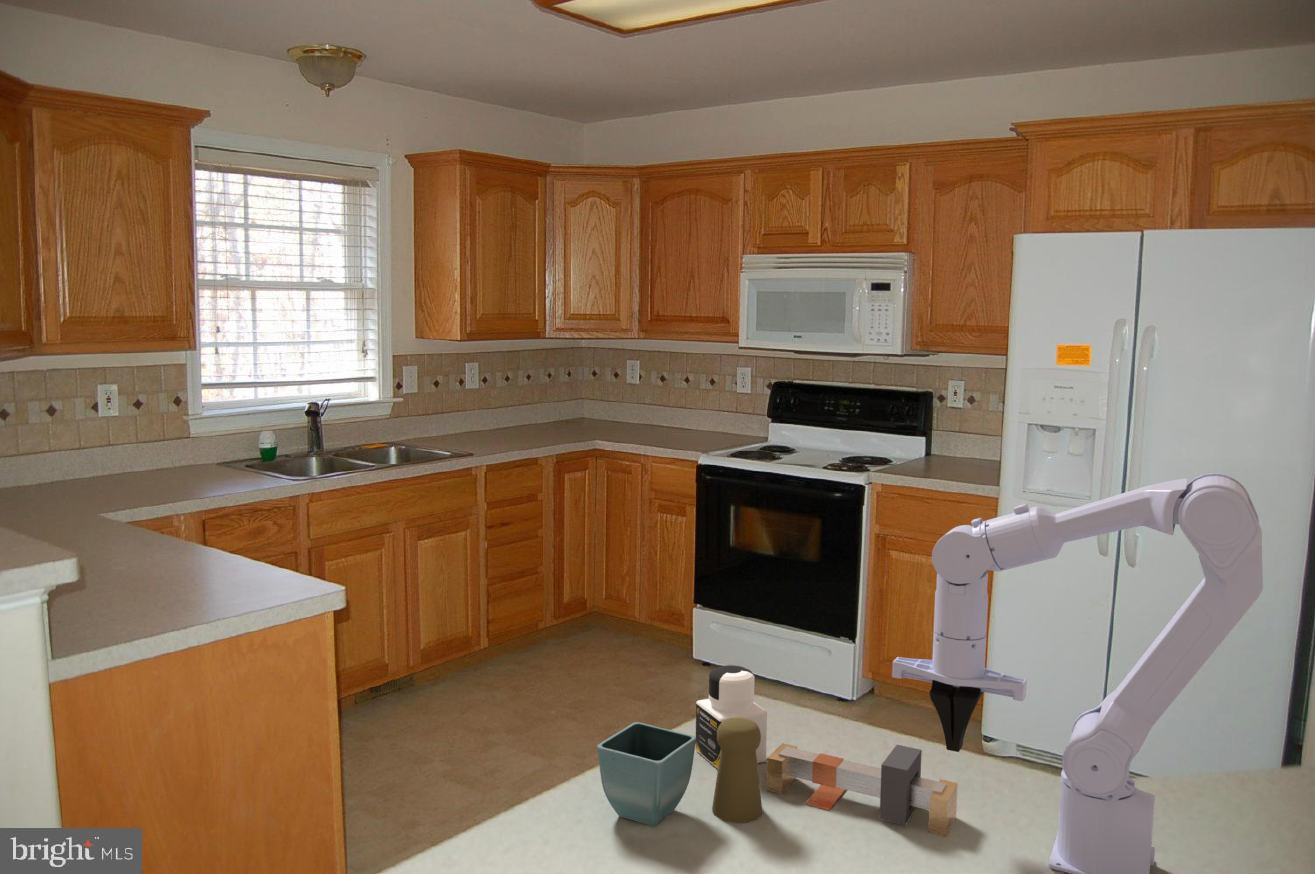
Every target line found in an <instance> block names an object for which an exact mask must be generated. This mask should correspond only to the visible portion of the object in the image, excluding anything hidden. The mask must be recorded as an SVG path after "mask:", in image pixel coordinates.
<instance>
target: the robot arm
mask: <svg viewBox="0 0 1315 874" xmlns="http://www.w3.org/2000/svg"><path fill="white" fill-rule="evenodd" d="M970 523H971V525H970V524H962V525H958V526H955V527H954V528H951V529H950V530H949V531H948V532H946V533H945V534H944V535H943V536H941V537H940V538H939V539H938V540H937V542H936V543H935V545H934V546H933V548H932V553H931V560H932V561H931V562H932V565H933V568H934V570H935V571H936V587H935V588H936V590H935V593H934V612H933V614H934V616H933V636H932V638H933V639H932V640H933V641H932V659H925V658H922V659H921V658H909V657H902V656H900V657H899V656H897V657H896V658H895V659H894V660H892V667H891V668H892V672H891V677H892V678H895V679H898V680H899V679H903V678H904V679H905V678H906V679H910V680H915V681H916V680H917V681H922V682H927V683H931V689H930V690H929V698H930V701H931V702H932V704H933V706H934V707H935V710H936V712H937V714H938V718H939V720H940V723H941V726H942V727H941V728H942V731H943V735H944V740H945V747H946V750H947V751H951V752H956V753H960V751H961V749H962V747H963V745H964V738H965V735H966V731H967V728H968V725H969V722H970V719H971V717H972V715H973V712H974V710H975V709H976V706H977V704H978V703H979V701H980V699H981V698H982V696H983V693H987V694H991V695H997V696H1003V697H1007V698H1008V697H1009V698H1012V699H1013V700H1014V701H1018V702H1023V701H1024V700H1025V699H1026V696H1027V682H1028V680H1027V679H1025V678H1021V677H1016V676H1012V675H1009V674H1005V673H1002V672H999V671H997V670H992V669H989V668H986V650H987V633H988V632H987V629H988V627H987V625H988V610H989V609H988V608H989V593H988V584H989V583H988V580H989V578H988V577H989V572H987V571H992V572H993V571H994V572H1002V571H1003V572H1004V571H1006V570H1010V569H1014V568H1015V569H1016V568H1019V567H1022V566H1027V565H1031V564H1035V563H1039V562H1043V561H1047V560H1051V559H1054V558H1056V557H1057V556H1058V555H1060V554H1059V553H1060V552H1061V550H1062V548H1063V546H1064V544H1065V543H1068V542H1072V541H1078V540H1082V539H1087V538H1090V537H1096V536H1100V535H1104V534H1105V535H1106V534H1109V533H1110V534H1111V533H1115V532H1118V531H1122V530H1127V529H1128V530H1129V529H1133V528H1137V527H1146V528H1149V529H1152V530H1154V531H1158V532H1161V533H1164V534H1167V535H1170V536H1174V532H1175V528H1176V525H1179V527H1180V530H1181V531H1182V532H1183V534H1184V536H1185V537H1186V538H1187V540H1188V542H1189V543H1190V544H1191V545H1192V547H1193V548H1194V549H1195V551H1196V552H1197V553H1198V558H1199V562H1200V565H1201V569H1202V572H1203V575H1204V577H1203V578H1202V580H1201V581H1200V582H1199V584H1198V585H1197V586H1196V587H1195V589H1194V590H1193V591H1192V592H1191V593H1190V595H1189V596H1188V598H1186V600H1185V602H1183V604H1182V605H1181V607H1180V608H1179V609H1178V610H1177V611H1176V613H1175V614H1174V615H1173V617H1172V618H1171V619H1170V620H1169V621H1168V623H1167V624H1166V626H1165V627H1164V628H1163V629H1162V631H1161V632H1160V633H1159V634H1158V636H1156V637H1155V639H1154V640H1153V641H1152V643H1151V645H1149V647H1147V649H1146V651H1145V652H1144V653H1143V654H1142V655H1141V657H1140V658H1139V659H1138V661H1137V662H1136V663H1135V665H1133V667H1132V668H1131V670H1130V671H1129V672H1128V673H1127V675H1126V676H1125V677H1124V678H1123V680H1122V681H1121V682H1120V683H1119V685H1118V686H1117V687H1116V689H1115V690H1114V691H1112V692H1110V693H1109V694H1108V695H1107V696H1105V698H1104V699H1103V700H1102V702H1101V703H1100V704H1098V705H1097V706H1096V707H1095V708H1094V707H1093V708H1092V709H1089V710H1086V711H1084V712H1083V713H1081V714H1079V716H1078V717H1077V718H1076V719H1075V721H1074V723H1073V724H1072V728H1071V736H1070V738H1069V741H1068V744H1067V746H1066V747H1065V749H1064V751H1063V754H1062V761H1061V764H1062V770H1061V771H1060V788H1059V791H1060V792H1059V806H1058V807H1059V808H1058V825H1057V834H1056V837H1055V839H1054V840H1055V841H1054V844H1053V847H1052V850H1051V854H1050V856H1049V860H1048V867H1049V868H1050V869H1053V870H1056V871H1061V872H1064V873H1069V874H1150V871H1151V866H1154V865H1155V856H1156V847H1155V846H1153V835H1154V818H1155V817H1154V816H1155V804H1156V803H1155V802H1156V794H1153V793H1150V792H1147V791H1144V790H1142V789H1139V788H1137V787H1136V784H1135V783H1136V782H1135V781H1134V779H1132V776H1131V775H1130V766H1131V763H1132V761H1133V760H1134V758H1135V757H1136V755H1138V753H1139V752H1140V750H1141V748H1142V747H1143V746H1144V743H1145V741H1146V740H1147V738H1148V735H1149V733H1150V731H1151V730H1152V728H1153V726H1154V725H1155V724H1156V723H1157V722H1158V721H1159V719H1160V718H1161V717H1162V716H1163V714H1164V713H1165V712H1166V711H1167V710H1168V708H1169V707H1170V706H1171V705H1172V704H1173V703H1174V701H1175V700H1176V699H1177V698H1178V697H1179V695H1180V694H1181V693H1182V691H1183V690H1184V689H1185V688H1186V686H1187V685H1188V684H1189V683H1190V682H1191V681H1192V679H1193V678H1194V677H1195V676H1196V674H1197V673H1198V672H1200V670H1201V668H1202V667H1203V666H1204V665H1205V663H1206V662H1207V661H1208V660H1209V658H1210V657H1211V656H1212V655H1213V654H1214V653H1215V651H1217V649H1218V647H1220V645H1221V644H1222V643H1223V641H1224V640H1225V639H1226V638H1227V636H1228V635H1229V634H1230V633H1231V632H1232V631H1233V629H1234V628H1235V627H1236V626H1237V625H1238V623H1239V622H1240V621H1241V620H1242V618H1243V617H1244V616H1245V614H1247V612H1248V611H1249V610H1250V608H1251V607H1252V606H1253V605H1254V603H1255V602H1257V600H1258V599H1259V598H1260V595H1261V593H1262V592H1263V588H1264V577H1263V575H1264V574H1263V570H1264V569H1263V545H1262V544H1263V543H1262V542H1263V530H1262V528H1261V525H1260V521H1259V516H1258V513H1257V511H1256V508H1255V506H1254V504H1253V501H1252V499H1251V497H1250V495H1249V492H1248V491H1247V488H1246V487H1245V486H1244V485H1243V484H1242V483H1241V482H1240V481H1239V480H1238V479H1236V478H1235V477H1233V476H1229V475H1227V474H1223V473H1218V472H1217V473H1215V472H1214V473H1213V472H1212V473H1206V474H1202V475H1199V476H1197V477H1195V478H1193V479H1192V480H1190V481H1189V478H1179V479H1177V478H1176V479H1173V480H1167V481H1163V482H1159V483H1154V484H1150V485H1146V486H1142V487H1139V488H1136V489H1133V490H1130V491H1129V490H1128V491H1126V492H1122V493H1119V494H1116V495H1113V496H1109V497H1106V498H1103V499H1101V500H1100V499H1099V500H1096V501H1093V502H1089V503H1086V504H1083V505H1080V506H1077V507H1074V508H1070V509H1068V510H1064V511H1060V512H1058V513H1057V512H1052V511H1050V510H1048V509H1046V508H1045V507H1042V506H1039V505H1038V506H1037V505H1036V506H1034V507H1029V506H1028V504H1027V503H1023V504H1020V505H1016V506H1015V507H1013V512H1012V513H1009V514H1004V515H1001V516H998V517H993V518H990V519H987V520H983V518H982V517H978V518H974V519H972V520H971V522H970Z"/></svg>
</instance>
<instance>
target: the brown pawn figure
mask: <svg viewBox="0 0 1315 874" xmlns="http://www.w3.org/2000/svg"><path fill="white" fill-rule="evenodd" d="M717 741H718V745H719V746H720V748H721V753H720V760H719V766H718V769H717V774H716V780H715V786H714V794H713V800H712V808H711V812H712V814H713V816H715V818H716V817H717V818H718V819H719V820H722V821H724V822H728V823H733V824H746V823H751V822H754V821H757V820H758V819H760V818H761V817H762V815H763V813H764V812H763V804H762V803H763V802H762V797H761V795H762V793H761V787H760V777H759V768H758V763H757V758H756V749H757V748H758V747H759V745H760V741H761V733H760V729H759V727H758V725H757V724H756V723H755V722H753V721H751V720H749V719H746V718H737V717H736V718H729V719H726V720H724V721H722V723H721V724H720V725H719V727H718V730H717Z"/></svg>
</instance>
